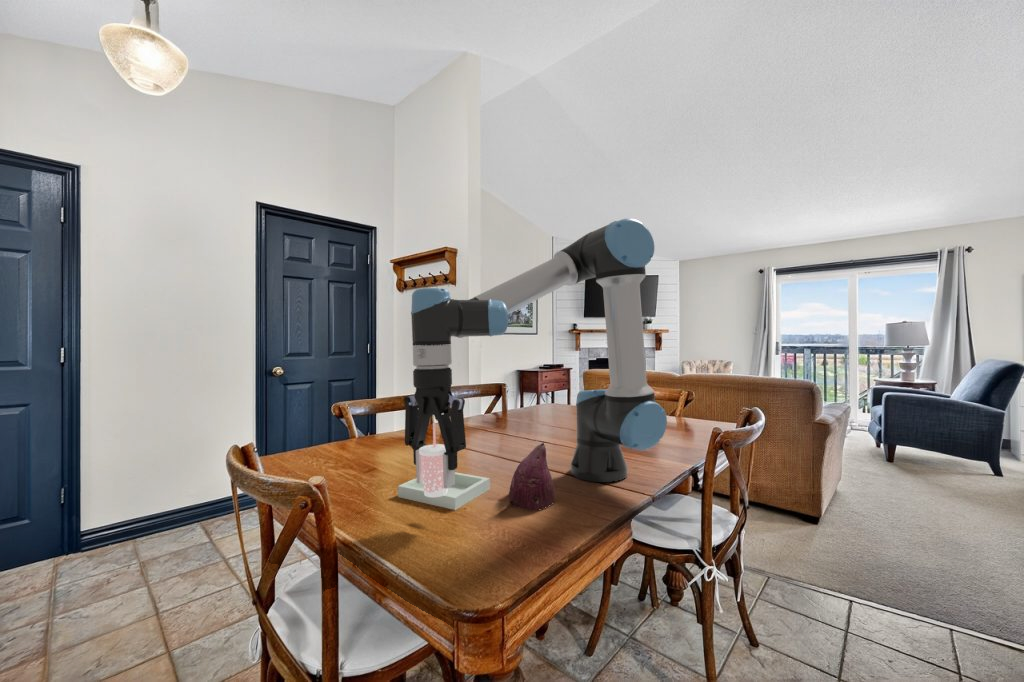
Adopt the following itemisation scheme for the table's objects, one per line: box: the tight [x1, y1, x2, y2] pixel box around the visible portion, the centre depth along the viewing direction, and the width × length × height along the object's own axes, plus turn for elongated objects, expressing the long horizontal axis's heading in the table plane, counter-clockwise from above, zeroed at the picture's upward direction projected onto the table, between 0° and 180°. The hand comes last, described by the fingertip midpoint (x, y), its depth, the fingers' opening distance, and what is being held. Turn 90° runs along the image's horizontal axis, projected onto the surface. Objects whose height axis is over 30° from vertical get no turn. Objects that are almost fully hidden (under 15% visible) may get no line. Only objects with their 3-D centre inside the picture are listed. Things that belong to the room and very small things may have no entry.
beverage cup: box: [419, 422, 448, 497], centre depth 82 cm, size 6×6×14 cm
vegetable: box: [508, 441, 555, 511], centre depth 94 cm, size 10×10×15 cm
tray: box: [397, 471, 491, 511], centre depth 97 cm, size 16×14×4 cm
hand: (435, 483), depth 82 cm, fingers closed on beverage cup, 6 cm apart
